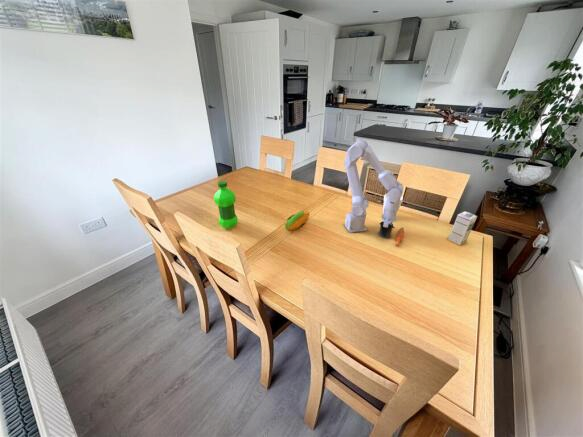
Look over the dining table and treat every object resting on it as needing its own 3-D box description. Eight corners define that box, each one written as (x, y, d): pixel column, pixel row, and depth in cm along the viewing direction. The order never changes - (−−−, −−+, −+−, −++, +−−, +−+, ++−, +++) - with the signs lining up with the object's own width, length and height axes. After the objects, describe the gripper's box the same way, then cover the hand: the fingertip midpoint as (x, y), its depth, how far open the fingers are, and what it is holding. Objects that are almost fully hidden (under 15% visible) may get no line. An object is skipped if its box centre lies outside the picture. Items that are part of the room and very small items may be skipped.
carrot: (399, 229, 122) (400, 225, 121) (404, 230, 121) (405, 226, 120) (393, 246, 110) (395, 241, 109) (399, 247, 109) (401, 243, 108)
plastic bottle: (229, 219, 131) (223, 176, 118) (243, 225, 126) (237, 181, 112) (215, 227, 124) (206, 183, 111) (229, 233, 119) (221, 188, 106)
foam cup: (398, 222, 128) (404, 201, 121) (380, 220, 129) (385, 199, 122) (395, 214, 135) (401, 193, 129) (378, 212, 137) (383, 192, 130)
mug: (390, 239, 114) (394, 228, 111) (375, 235, 117) (378, 224, 114) (392, 234, 119) (395, 223, 115) (378, 230, 122) (380, 219, 118)
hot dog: (281, 218, 116) (303, 203, 130) (280, 231, 121) (302, 215, 134) (293, 224, 113) (314, 208, 127) (292, 236, 117) (313, 219, 131)
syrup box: (459, 245, 111) (472, 219, 103) (447, 239, 115) (458, 213, 107) (465, 241, 113) (478, 216, 106) (453, 235, 117) (464, 210, 110)
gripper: (397, 217, 103) (390, 242, 110) (402, 204, 114) (395, 227, 121) (381, 213, 106) (375, 237, 113) (387, 200, 117) (381, 223, 124)
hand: (385, 232), depth 117 cm, fingers closed on mug, 5 cm apart
